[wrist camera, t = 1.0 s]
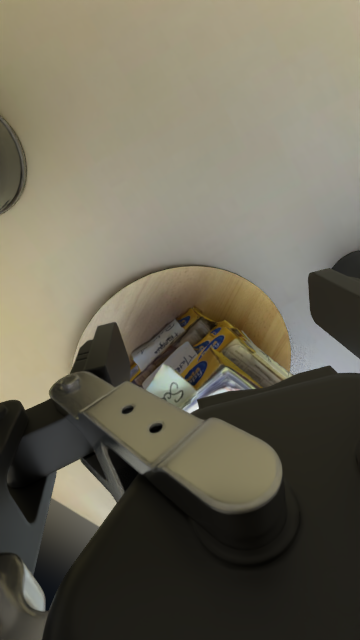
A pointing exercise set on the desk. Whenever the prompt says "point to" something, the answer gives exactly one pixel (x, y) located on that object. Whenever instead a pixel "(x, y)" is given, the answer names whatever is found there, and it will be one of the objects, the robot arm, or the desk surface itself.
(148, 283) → the stacked packets on board
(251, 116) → the desk surface
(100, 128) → the desk surface
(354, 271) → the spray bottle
